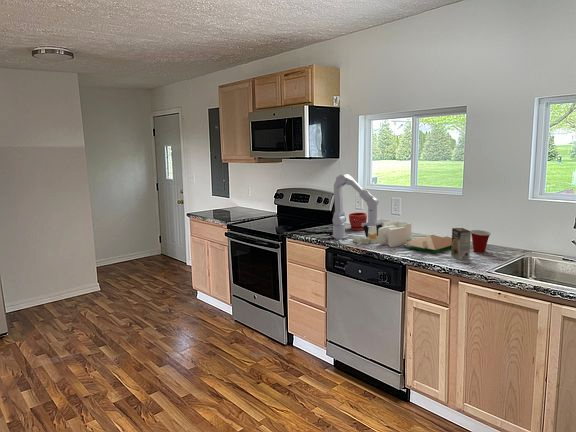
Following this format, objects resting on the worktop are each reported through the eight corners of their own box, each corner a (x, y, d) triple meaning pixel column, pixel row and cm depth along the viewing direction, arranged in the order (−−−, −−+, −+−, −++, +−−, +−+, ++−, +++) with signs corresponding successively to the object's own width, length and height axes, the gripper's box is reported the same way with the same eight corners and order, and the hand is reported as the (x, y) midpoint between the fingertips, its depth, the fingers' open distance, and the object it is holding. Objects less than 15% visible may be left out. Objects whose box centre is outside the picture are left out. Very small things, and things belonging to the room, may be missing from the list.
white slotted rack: (411, 239, 281) (411, 223, 279) (401, 242, 274) (401, 225, 272) (381, 233, 300) (381, 218, 298) (371, 236, 293) (371, 220, 291)
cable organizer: (389, 248, 257) (389, 230, 255) (377, 245, 266) (377, 227, 264) (406, 245, 265) (406, 226, 263) (394, 242, 274) (394, 224, 272)
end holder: (363, 240, 280) (363, 236, 280) (376, 239, 282) (376, 235, 281) (369, 243, 271) (369, 239, 271) (382, 242, 273) (382, 238, 273)
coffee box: (450, 256, 236) (451, 228, 234) (461, 255, 237) (462, 227, 234) (458, 260, 227) (459, 231, 225) (469, 259, 228) (471, 230, 225)
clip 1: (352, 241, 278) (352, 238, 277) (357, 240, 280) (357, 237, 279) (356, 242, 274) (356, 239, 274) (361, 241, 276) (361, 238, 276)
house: (399, 249, 257) (399, 236, 255) (431, 240, 276) (432, 228, 275) (432, 256, 239) (432, 242, 237) (464, 246, 258) (464, 233, 257)
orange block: (367, 240, 281) (367, 232, 280) (372, 239, 282) (372, 232, 281) (370, 242, 275) (370, 234, 274) (376, 241, 276) (376, 234, 275)
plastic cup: (486, 255, 236) (487, 234, 234) (466, 252, 243) (467, 232, 241) (492, 251, 244) (493, 231, 242) (473, 248, 251) (474, 229, 249)
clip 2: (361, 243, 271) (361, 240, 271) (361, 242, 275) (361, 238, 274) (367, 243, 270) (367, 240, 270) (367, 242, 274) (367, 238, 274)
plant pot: (353, 227, 325) (353, 211, 323) (369, 228, 318) (369, 213, 315) (345, 230, 315) (345, 214, 313) (361, 231, 307) (361, 215, 305)
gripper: (364, 217, 269) (364, 238, 272) (385, 216, 272) (385, 236, 275) (360, 216, 276) (360, 236, 278) (380, 214, 279) (380, 234, 281)
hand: (372, 236), depth 277 cm, fingers open, 7 cm apart
